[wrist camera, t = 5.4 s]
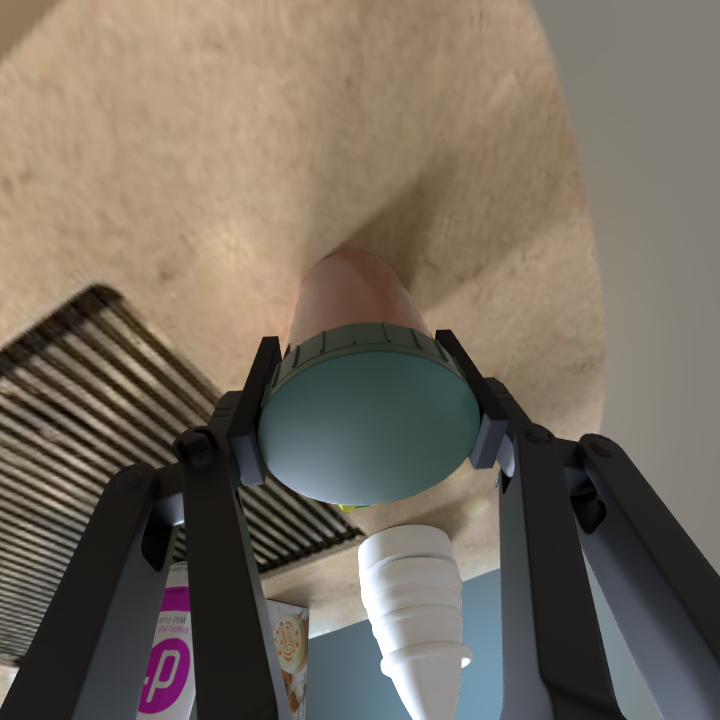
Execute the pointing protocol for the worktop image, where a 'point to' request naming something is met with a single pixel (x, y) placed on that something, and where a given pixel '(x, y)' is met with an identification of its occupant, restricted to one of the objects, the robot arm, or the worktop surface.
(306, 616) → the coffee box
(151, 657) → the supplement can
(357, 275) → the jam jar
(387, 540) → the honey pot
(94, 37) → the worktop surface
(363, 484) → the jar lid
